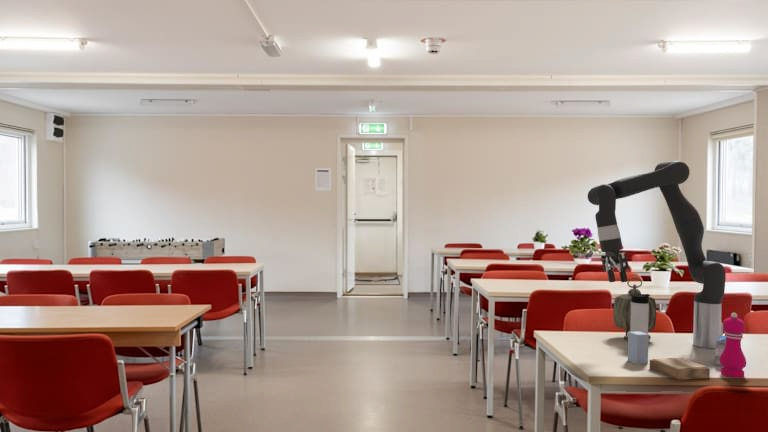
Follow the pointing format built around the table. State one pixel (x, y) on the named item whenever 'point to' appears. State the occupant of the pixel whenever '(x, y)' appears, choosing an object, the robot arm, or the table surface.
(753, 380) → the table surface
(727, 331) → the pepper mill
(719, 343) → the label tape box
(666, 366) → the block
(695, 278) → the robot arm
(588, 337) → the table surface
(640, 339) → the slate-blue block
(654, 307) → the tabletop clock
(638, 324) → the travel mug
